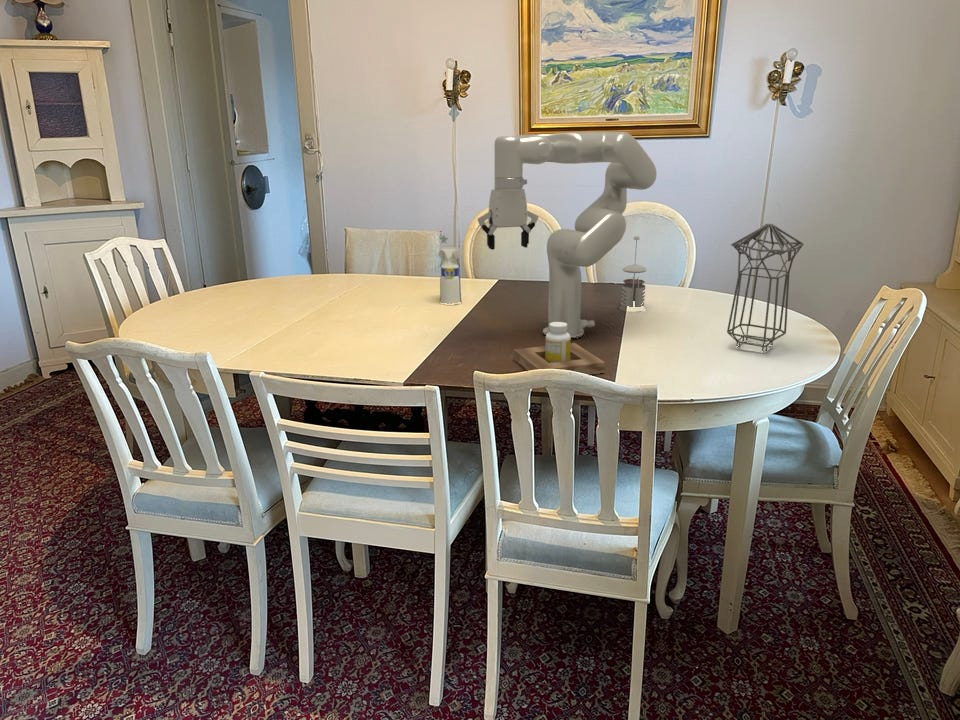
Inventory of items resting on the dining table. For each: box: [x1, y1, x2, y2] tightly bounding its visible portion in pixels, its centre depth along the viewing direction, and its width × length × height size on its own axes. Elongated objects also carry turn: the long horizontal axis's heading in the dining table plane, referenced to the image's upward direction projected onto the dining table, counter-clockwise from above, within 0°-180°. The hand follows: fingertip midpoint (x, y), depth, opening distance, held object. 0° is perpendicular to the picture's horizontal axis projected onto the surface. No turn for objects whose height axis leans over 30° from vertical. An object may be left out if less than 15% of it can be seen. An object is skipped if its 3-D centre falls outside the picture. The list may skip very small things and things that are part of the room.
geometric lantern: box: [726, 223, 804, 352], centre depth 198 cm, size 16×16×35 cm
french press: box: [620, 235, 647, 307], centre depth 242 cm, size 10×12×25 cm
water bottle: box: [437, 234, 464, 304], centre depth 253 cm, size 8×9×25 cm
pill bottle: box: [544, 322, 572, 363], centre depth 188 cm, size 6×6×12 cm
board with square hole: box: [513, 342, 606, 374], centre depth 189 cm, size 18×18×3 cm
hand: (508, 247), depth 199 cm, fingers open, 9 cm apart
